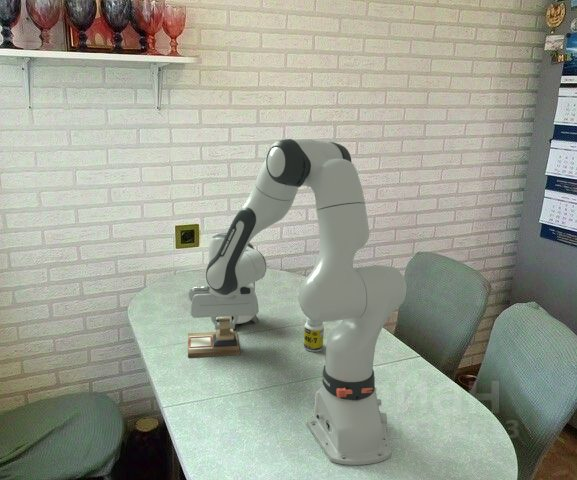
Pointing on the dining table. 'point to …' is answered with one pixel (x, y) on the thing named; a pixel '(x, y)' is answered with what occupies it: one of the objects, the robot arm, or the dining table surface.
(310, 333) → the supplement bottle
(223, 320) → the stamp
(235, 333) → the station board
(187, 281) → the dining table surface
